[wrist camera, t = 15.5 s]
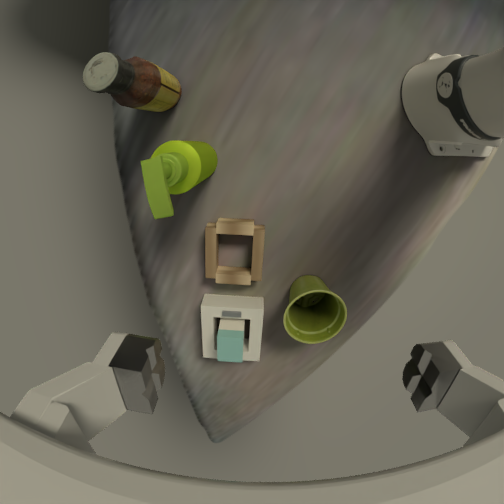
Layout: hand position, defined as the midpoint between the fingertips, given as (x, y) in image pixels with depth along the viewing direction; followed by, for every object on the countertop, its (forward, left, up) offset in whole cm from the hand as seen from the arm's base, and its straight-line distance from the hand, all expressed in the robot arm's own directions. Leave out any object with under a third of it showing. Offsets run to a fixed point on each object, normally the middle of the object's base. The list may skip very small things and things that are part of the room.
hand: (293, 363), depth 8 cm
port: (+4, +24, -37) cm, 44 cm away
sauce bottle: (+16, -14, -37) cm, 43 cm away
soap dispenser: (+10, -3, -37) cm, 39 cm away
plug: (+4, +24, -37) cm, 44 cm away
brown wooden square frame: (+4, +10, -37) cm, 39 cm away
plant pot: (-8, +17, -37) cm, 42 cm away
